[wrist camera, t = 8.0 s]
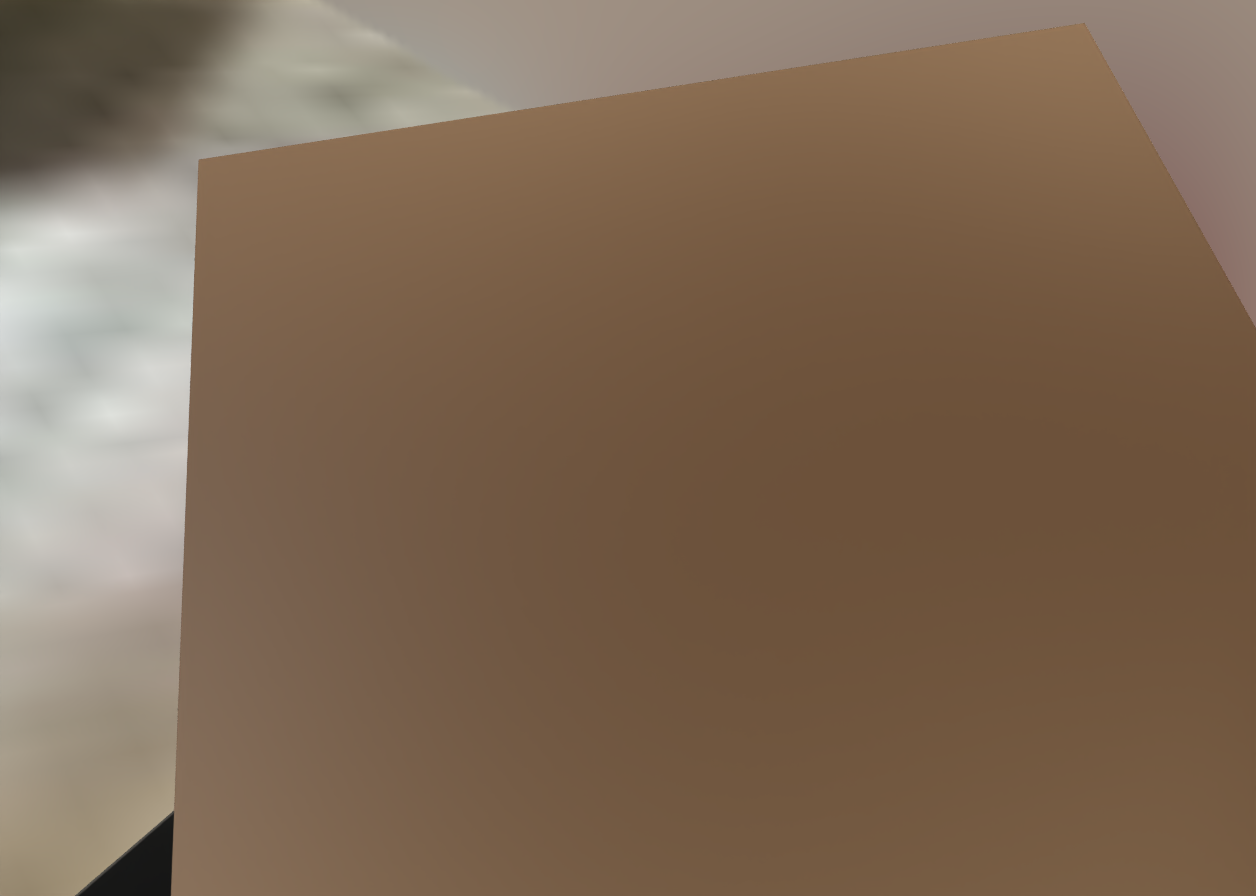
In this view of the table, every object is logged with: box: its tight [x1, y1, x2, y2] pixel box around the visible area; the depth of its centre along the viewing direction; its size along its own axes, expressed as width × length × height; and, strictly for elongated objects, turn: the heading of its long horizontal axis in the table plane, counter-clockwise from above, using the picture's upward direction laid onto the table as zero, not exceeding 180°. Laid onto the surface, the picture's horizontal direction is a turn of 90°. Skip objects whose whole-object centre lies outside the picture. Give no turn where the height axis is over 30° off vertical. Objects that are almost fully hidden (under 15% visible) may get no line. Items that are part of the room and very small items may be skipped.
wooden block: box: [171, 23, 1256, 896], centre depth 9 cm, size 4×4×13 cm
